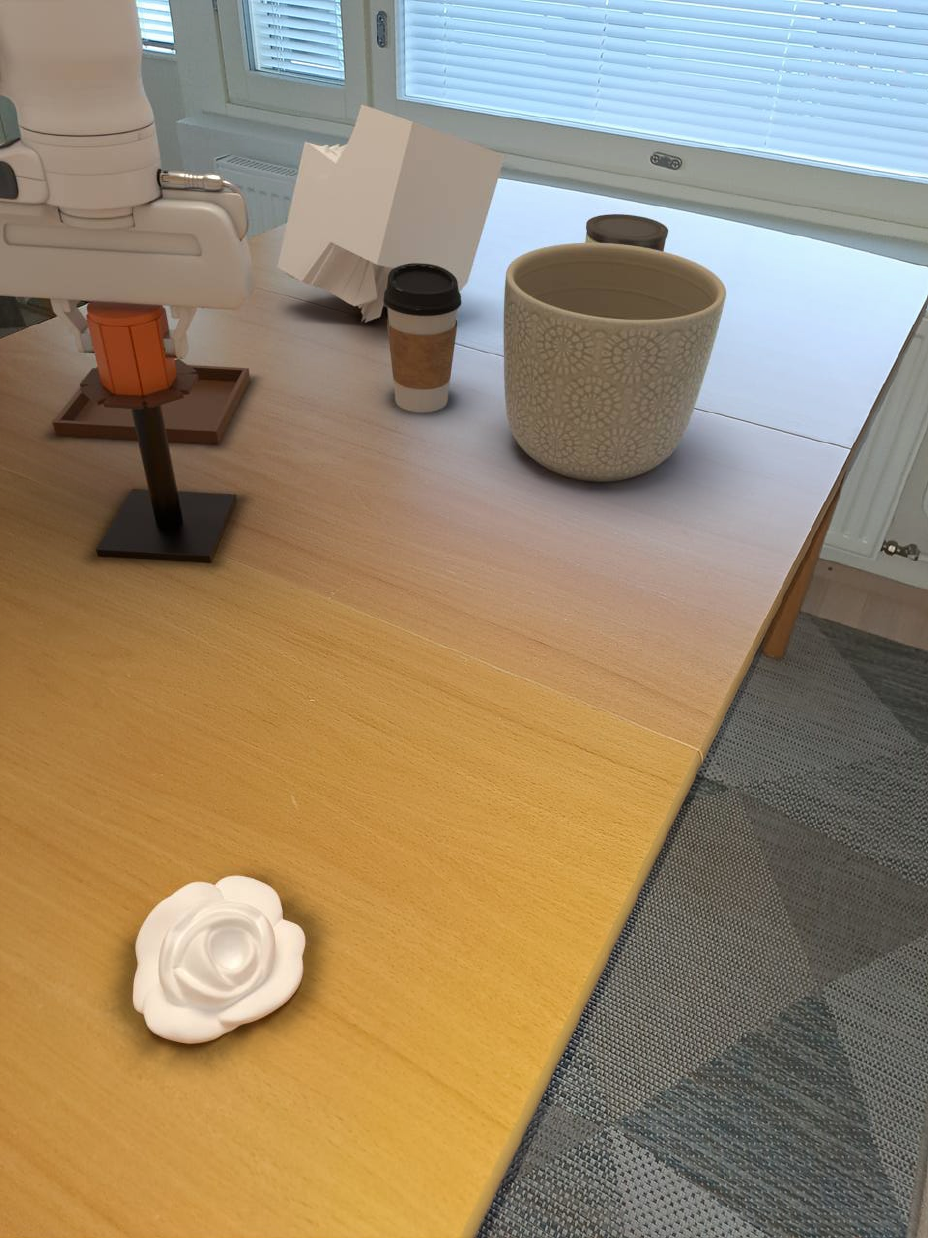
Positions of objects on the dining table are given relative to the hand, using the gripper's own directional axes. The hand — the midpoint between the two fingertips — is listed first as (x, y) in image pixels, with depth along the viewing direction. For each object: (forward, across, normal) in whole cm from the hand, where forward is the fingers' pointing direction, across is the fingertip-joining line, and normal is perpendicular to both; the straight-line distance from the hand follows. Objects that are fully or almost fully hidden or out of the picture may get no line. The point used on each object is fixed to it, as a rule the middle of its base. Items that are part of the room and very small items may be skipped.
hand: (133, 352), depth 73 cm
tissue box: (+18, -14, -55) cm, 59 cm away
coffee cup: (+18, -21, -28) cm, 39 cm away
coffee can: (+18, -45, -52) cm, 71 cm away
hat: (+3, 0, 0) cm, 3 cm away
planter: (+18, -40, -19) cm, 48 cm away
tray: (+18, +8, -23) cm, 30 cm away
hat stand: (+18, 0, 0) cm, 18 cm away
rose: (+18, -15, +42) cm, 48 cm away
